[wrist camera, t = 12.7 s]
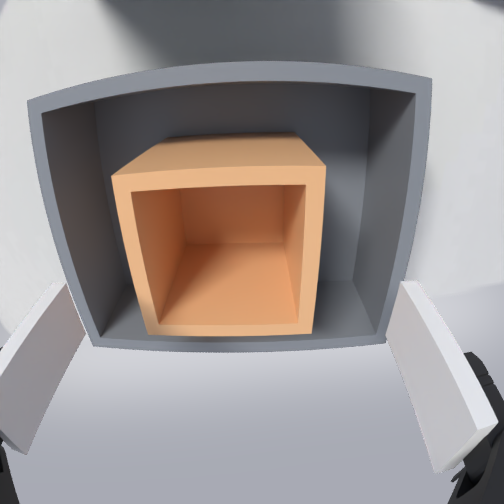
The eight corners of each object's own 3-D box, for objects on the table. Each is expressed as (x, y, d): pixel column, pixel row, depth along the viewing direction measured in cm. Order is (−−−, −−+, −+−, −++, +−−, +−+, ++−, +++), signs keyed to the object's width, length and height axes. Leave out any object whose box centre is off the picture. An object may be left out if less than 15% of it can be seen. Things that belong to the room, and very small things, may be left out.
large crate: (378, 77, 20) (432, 78, 13) (358, 282, 29) (385, 343, 22) (87, 91, 20) (27, 100, 13) (123, 287, 29) (93, 346, 22)
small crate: (294, 132, 21) (326, 166, 12) (291, 246, 26) (311, 333, 17) (166, 137, 21) (111, 175, 13) (179, 248, 26) (148, 334, 17)
